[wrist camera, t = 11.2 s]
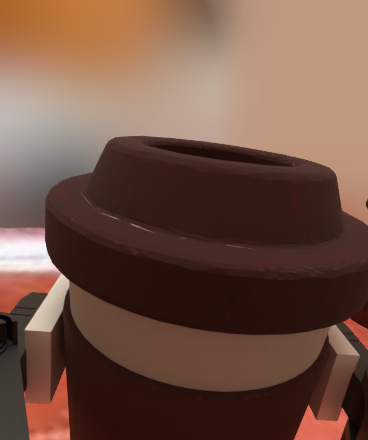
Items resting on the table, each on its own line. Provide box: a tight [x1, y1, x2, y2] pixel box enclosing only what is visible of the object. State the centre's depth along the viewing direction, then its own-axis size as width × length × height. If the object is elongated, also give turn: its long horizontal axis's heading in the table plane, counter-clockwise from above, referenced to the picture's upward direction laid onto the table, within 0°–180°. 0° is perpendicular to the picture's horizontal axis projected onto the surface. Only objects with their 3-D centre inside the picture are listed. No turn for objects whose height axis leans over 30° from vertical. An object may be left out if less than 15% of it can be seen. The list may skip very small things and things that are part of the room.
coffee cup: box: [45, 136, 368, 440], centre depth 12 cm, size 10×10×15 cm
